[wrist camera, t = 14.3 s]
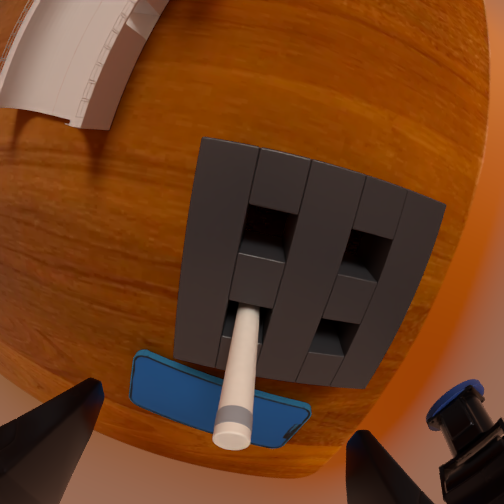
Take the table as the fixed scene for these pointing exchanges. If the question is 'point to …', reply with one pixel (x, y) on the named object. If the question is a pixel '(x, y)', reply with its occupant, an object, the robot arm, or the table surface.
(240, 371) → the stylus
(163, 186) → the table surface
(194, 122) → the table surface
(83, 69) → the skate ramp
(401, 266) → the pen stand
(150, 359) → the smartphone
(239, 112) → the table surface
